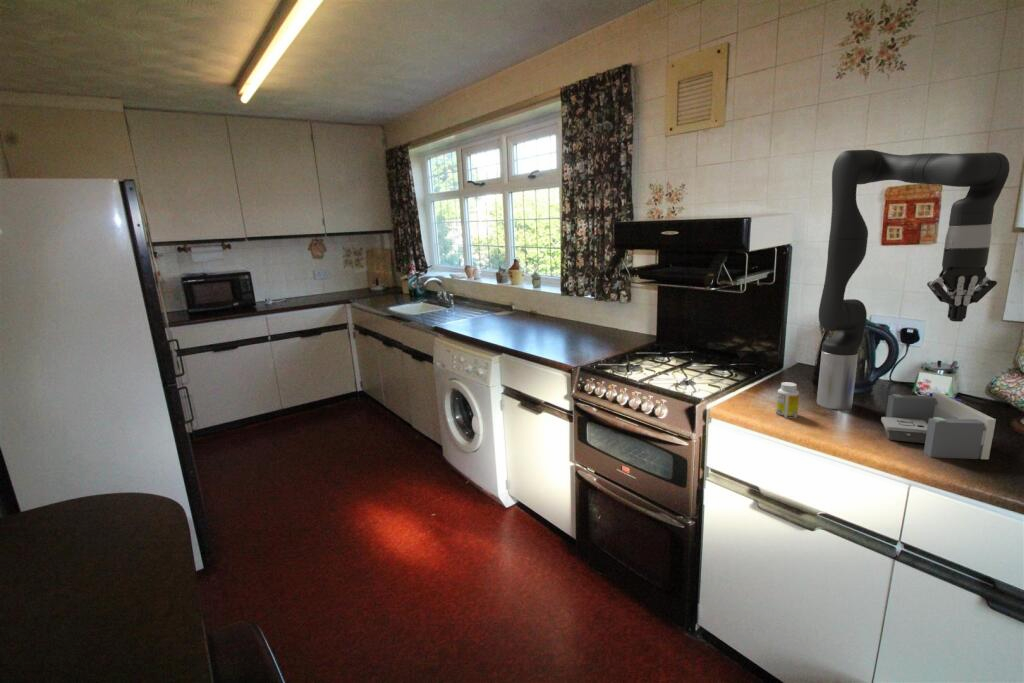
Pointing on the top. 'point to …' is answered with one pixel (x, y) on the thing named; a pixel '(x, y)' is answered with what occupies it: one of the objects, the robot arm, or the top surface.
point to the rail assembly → (946, 425)
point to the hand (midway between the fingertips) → (955, 320)
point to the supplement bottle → (787, 400)
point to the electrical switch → (905, 429)
